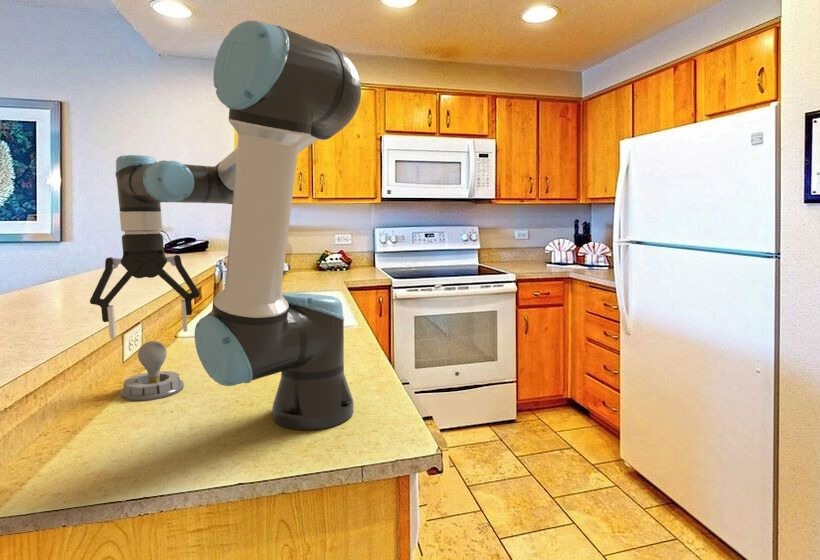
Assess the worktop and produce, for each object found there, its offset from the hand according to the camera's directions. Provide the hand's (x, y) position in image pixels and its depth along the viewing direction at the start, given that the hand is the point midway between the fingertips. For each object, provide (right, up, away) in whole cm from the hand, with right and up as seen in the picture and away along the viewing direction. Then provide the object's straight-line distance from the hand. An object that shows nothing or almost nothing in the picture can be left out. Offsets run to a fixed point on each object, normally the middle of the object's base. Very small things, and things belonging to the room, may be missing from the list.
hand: (150, 333), depth 105 cm
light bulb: (0, -12, +2) cm, 12 cm away
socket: (0, -12, +2) cm, 13 cm away
